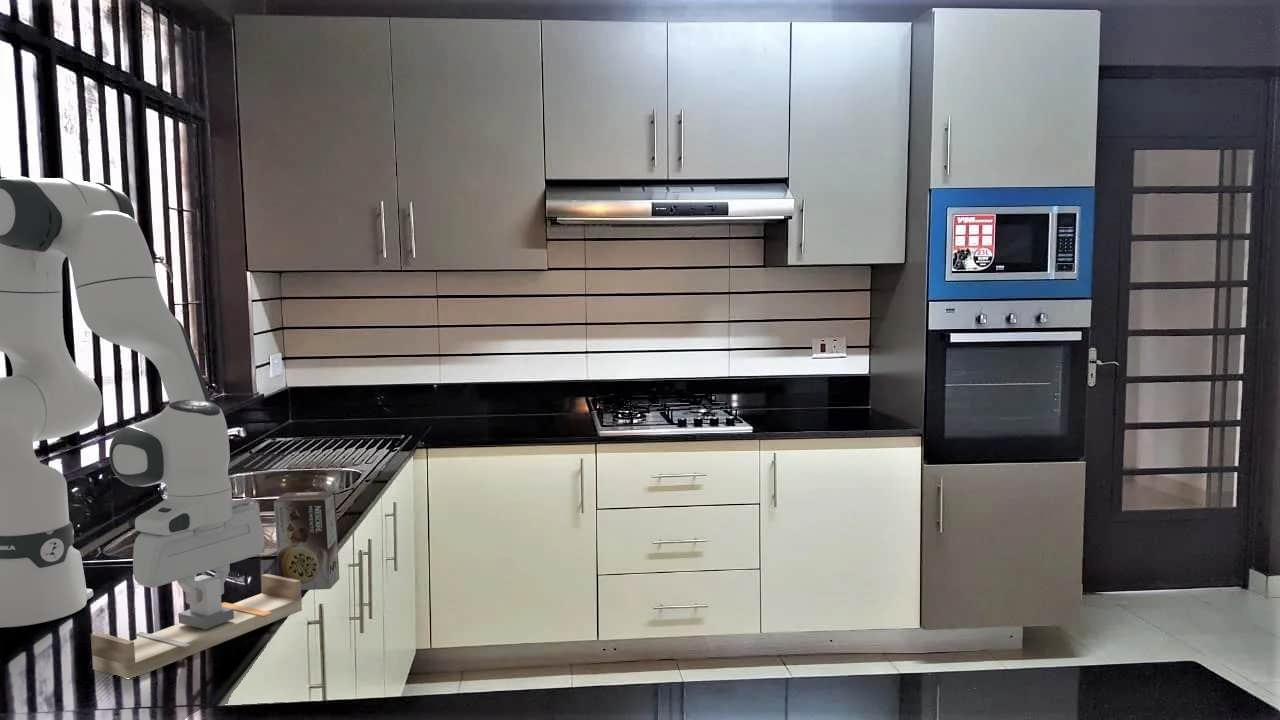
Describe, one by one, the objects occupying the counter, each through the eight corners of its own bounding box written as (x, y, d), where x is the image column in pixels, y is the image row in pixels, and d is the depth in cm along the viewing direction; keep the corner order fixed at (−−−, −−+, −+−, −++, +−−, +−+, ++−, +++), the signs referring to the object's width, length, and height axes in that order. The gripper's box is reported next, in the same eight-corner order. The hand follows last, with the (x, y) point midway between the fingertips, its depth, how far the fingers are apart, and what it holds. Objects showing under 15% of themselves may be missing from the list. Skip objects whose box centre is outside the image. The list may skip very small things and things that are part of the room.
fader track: (86, 667, 134) (84, 632, 134) (261, 601, 161) (259, 572, 160) (136, 681, 129) (134, 646, 129) (308, 611, 156) (307, 581, 155)
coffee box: (340, 578, 173) (336, 490, 171) (330, 590, 166) (326, 498, 165) (289, 579, 172) (285, 491, 171) (277, 591, 166) (272, 500, 164)
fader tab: (178, 622, 144) (176, 580, 144) (207, 612, 149) (205, 571, 148) (205, 629, 141) (203, 586, 141) (234, 618, 146) (231, 576, 145)
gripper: (244, 492, 154) (248, 576, 155) (123, 522, 136) (129, 616, 137) (271, 496, 151) (275, 582, 152) (151, 527, 133) (157, 623, 134)
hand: (205, 598), depth 145 cm, fingers closed on fader tab, 2 cm apart
